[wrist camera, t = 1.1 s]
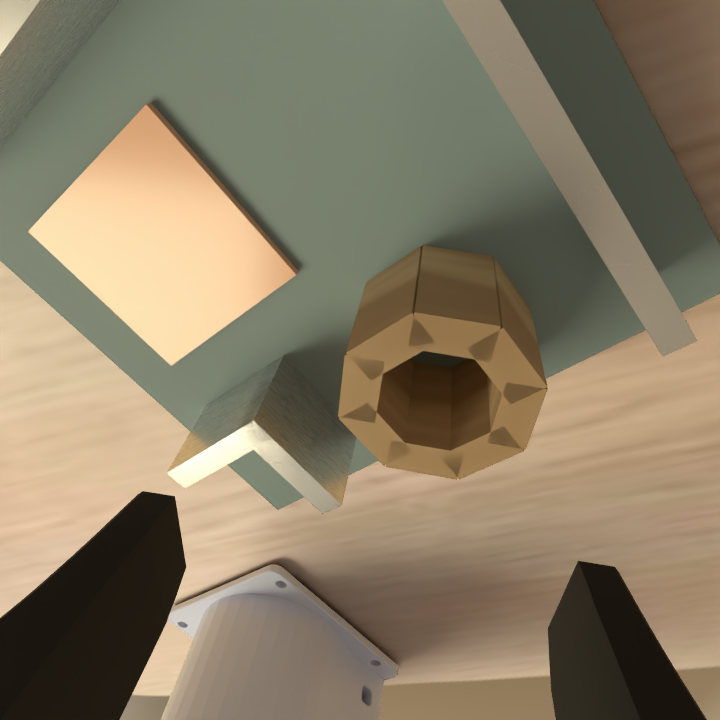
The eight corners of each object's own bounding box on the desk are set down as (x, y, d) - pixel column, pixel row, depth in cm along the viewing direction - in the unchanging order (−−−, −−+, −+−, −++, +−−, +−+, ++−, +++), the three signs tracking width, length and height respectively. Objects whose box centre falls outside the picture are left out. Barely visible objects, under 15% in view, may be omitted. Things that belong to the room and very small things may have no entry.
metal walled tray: (654, 275, 16) (697, 340, 13) (279, 473, 23) (253, 546, 20) (310, -316, 11) (257, -420, 8) (-52, 164, 17) (-154, 202, 14)
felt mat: (735, 279, 16) (739, 283, 16) (279, 504, 24) (277, 509, 24) (322, -519, 10) (318, -533, 10) (-117, 146, 18) (-125, 148, 17)
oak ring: (555, 343, 18) (577, 427, 15) (422, 412, 20) (415, 498, 17) (465, 216, 16) (466, 279, 13) (329, 306, 18) (301, 380, 15)
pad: (298, 270, 18) (296, 274, 17) (174, 361, 20) (171, 365, 20) (151, 102, 16) (146, 104, 15) (33, 227, 18) (27, 231, 18)
